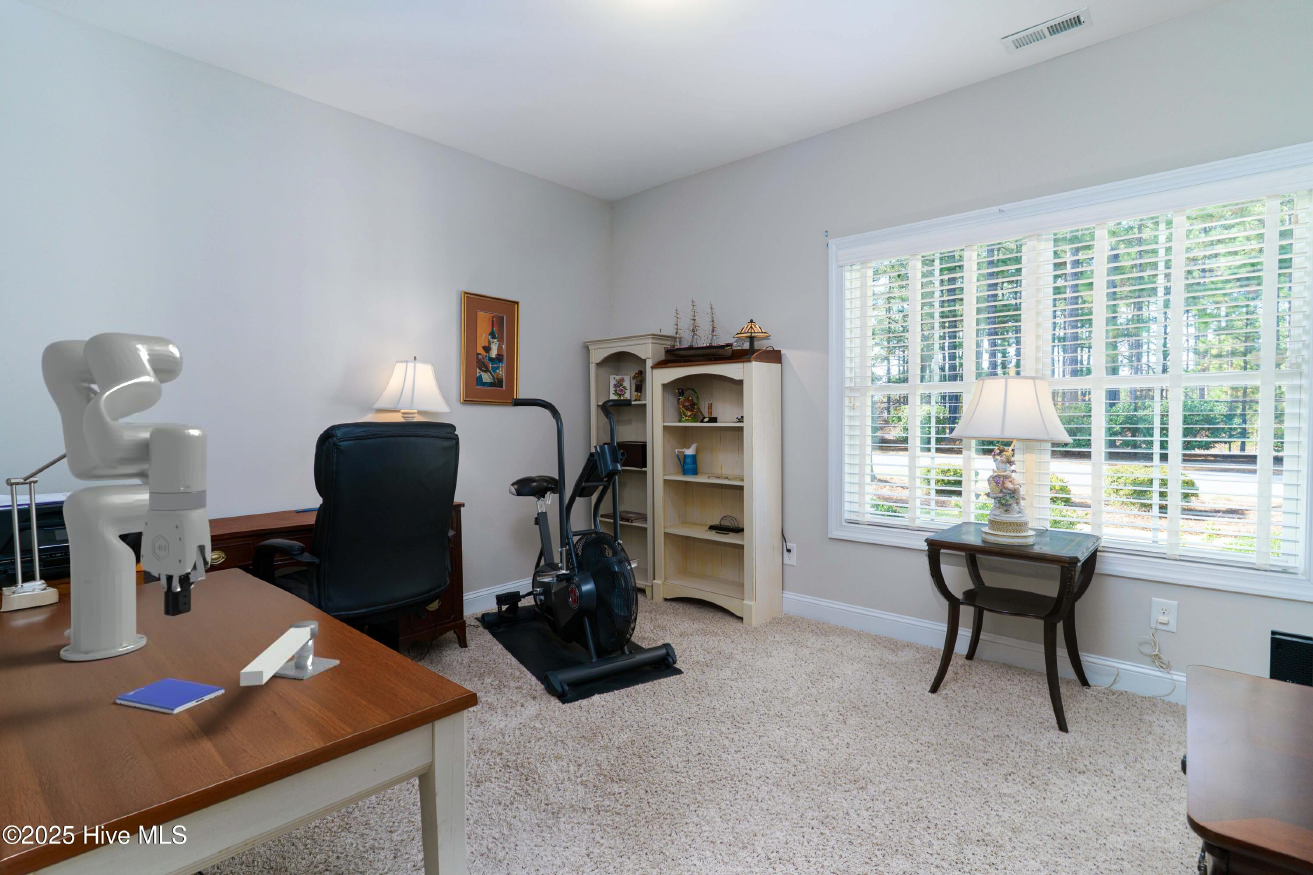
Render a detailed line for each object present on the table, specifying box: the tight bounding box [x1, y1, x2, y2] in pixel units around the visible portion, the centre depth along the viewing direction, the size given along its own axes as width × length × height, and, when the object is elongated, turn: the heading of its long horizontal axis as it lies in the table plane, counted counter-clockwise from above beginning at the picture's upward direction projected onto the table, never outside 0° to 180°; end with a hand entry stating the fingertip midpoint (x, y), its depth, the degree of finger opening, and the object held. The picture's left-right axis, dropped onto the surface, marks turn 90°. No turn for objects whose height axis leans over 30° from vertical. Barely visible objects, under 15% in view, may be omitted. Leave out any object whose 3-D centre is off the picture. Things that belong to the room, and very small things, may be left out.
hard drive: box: [115, 677, 225, 715], centre depth 103 cm, size 2×8×12 cm
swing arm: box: [239, 620, 319, 687], centre depth 105 cm, size 25×4×2 cm, turn 12°
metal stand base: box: [272, 636, 340, 681], centre depth 115 cm, size 8×8×6 cm
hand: (177, 613), depth 105 cm, fingers closed
